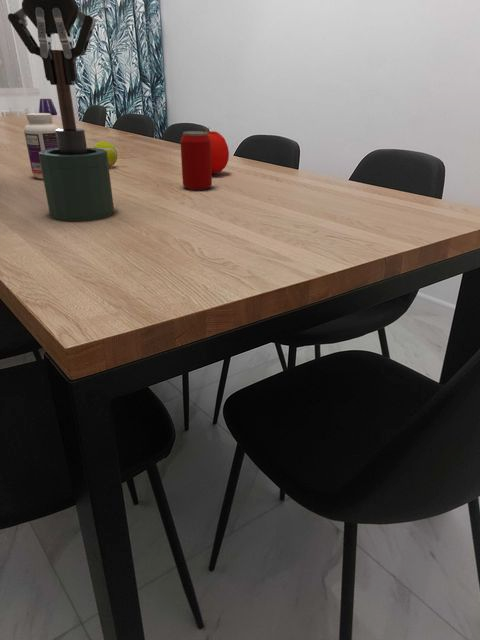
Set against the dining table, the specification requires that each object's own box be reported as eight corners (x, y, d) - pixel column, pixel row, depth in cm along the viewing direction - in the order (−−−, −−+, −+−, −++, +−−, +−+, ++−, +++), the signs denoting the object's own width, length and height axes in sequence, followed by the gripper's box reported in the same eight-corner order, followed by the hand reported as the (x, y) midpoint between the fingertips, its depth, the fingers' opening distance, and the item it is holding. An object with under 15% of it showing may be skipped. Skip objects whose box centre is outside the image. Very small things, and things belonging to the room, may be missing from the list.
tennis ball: (101, 170, 136) (97, 143, 132) (89, 166, 140) (85, 141, 137) (123, 167, 140) (120, 141, 136) (111, 164, 144) (108, 139, 141)
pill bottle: (68, 173, 130) (58, 112, 123) (66, 179, 123) (56, 115, 116) (35, 174, 128) (22, 112, 121) (31, 180, 121) (18, 115, 114)
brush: (56, 155, 88) (38, 49, 80) (63, 152, 92) (46, 50, 84) (84, 156, 88) (69, 49, 80) (90, 152, 92) (76, 51, 84)
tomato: (223, 169, 140) (222, 126, 134) (234, 177, 130) (233, 130, 125) (180, 171, 136) (177, 126, 131) (188, 179, 127) (186, 131, 122)
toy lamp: (45, 163, 144) (33, 98, 136) (61, 161, 147) (50, 98, 139) (52, 165, 141) (40, 99, 133) (68, 163, 144) (57, 98, 135)
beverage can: (210, 184, 121) (209, 130, 115) (213, 190, 115) (211, 134, 109) (182, 185, 120) (179, 130, 114) (183, 191, 114) (180, 134, 108)
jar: (42, 221, 89) (29, 156, 84) (59, 206, 99) (49, 147, 94) (107, 221, 90) (99, 156, 85) (118, 206, 100) (111, 147, 95)
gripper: (94, -38, 80) (108, 85, 88) (4, -42, 79) (27, 83, 87) (84, -48, 73) (100, 86, 82) (-15, -52, 72) (12, 84, 81)
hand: (62, 84), depth 84 cm, fingers closed on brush
